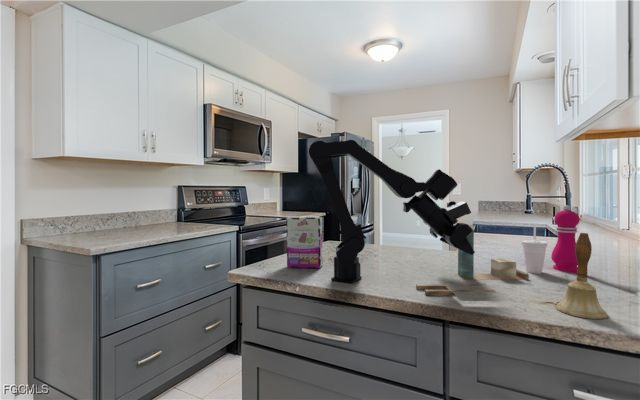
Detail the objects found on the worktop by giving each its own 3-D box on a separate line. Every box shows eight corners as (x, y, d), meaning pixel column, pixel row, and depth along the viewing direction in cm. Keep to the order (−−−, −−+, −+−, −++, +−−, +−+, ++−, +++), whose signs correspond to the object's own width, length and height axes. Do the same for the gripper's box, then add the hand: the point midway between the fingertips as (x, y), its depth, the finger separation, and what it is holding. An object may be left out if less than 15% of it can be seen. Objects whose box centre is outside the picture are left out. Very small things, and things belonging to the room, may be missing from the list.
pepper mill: (571, 269, 102) (572, 204, 102) (587, 276, 95) (588, 205, 94) (545, 269, 103) (546, 204, 102) (560, 275, 96) (561, 205, 95)
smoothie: (523, 276, 95) (523, 227, 94) (519, 271, 101) (519, 225, 100) (549, 278, 92) (550, 228, 92) (544, 273, 98) (544, 225, 98)
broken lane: (421, 295, 79) (421, 291, 79) (414, 286, 86) (414, 282, 86) (498, 295, 78) (498, 291, 78) (484, 287, 85) (484, 283, 85)
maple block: (498, 278, 89) (498, 261, 89) (490, 274, 94) (490, 258, 93) (516, 278, 89) (516, 261, 89) (507, 274, 93) (507, 258, 93)
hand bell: (585, 304, 72) (586, 230, 71) (619, 319, 64) (621, 235, 63) (546, 304, 72) (547, 230, 71) (575, 319, 64) (577, 236, 63)
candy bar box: (323, 265, 111) (322, 216, 110) (320, 269, 106) (320, 217, 105) (290, 264, 113) (289, 215, 112) (286, 267, 108) (285, 217, 107)
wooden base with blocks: (462, 283, 89) (462, 230, 88) (454, 276, 95) (454, 227, 95) (528, 283, 88) (529, 230, 87) (515, 277, 94) (515, 227, 94)
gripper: (464, 191, 82) (510, 236, 82) (440, 191, 100) (477, 227, 100) (431, 223, 82) (477, 268, 82) (413, 217, 101) (450, 253, 101)
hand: (470, 252), depth 91 cm, fingers closed on wooden base with blocks, 3 cm apart
